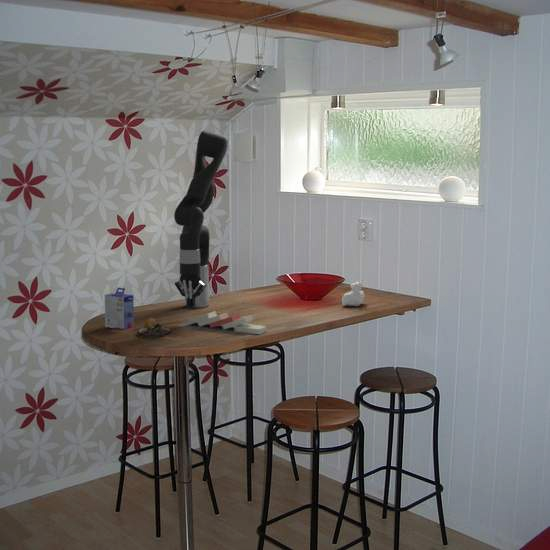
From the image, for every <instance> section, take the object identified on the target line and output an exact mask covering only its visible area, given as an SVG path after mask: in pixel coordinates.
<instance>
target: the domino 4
mask: <svg viewBox="0 0 550 550" xmlns="http://www.w3.org/2000/svg"><path fill="white" fill-rule="evenodd" d="M235 331H236V332H244V333H248V334H254V335H262V334H263V333H266V332H267V326H266V325H257V324H251V323H244V324H240V325H237V326H235Z"/></svg>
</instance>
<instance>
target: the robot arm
mask: <svg viewBox="0 0 550 550" xmlns="http://www.w3.org/2000/svg"><path fill="white" fill-rule="evenodd" d="M228 145H229V139H228V137H227V136H225V135H222V134H219V133H216V132H211V131H208V130H202V131H201V132H200V133H199V136H198V138H197V143H196V152H195V161H194V162H195V163H194V171H193V175H192V179H191V181H190V183H189V186H188V189H187V191H186V194H185V196H184V197H183V198H182V199H181V201H180V202H179V204H177V207H176V208H175V210H174V214H173V218H174V221H175V224H177V225H178V226H182V230H181V234H180V235H179V255H178V256H179V274H180V276H179V280H178V281H176V282H174V285H175V287H176V289H177V290H178V291H179V293H180V295H181V296H182V297H184V307H187V309H190V310H191V309H197V308H198V309H199V308H206V307H209V306H210V284H209V283H210V278H209V277H210V275H209V274H210V273H209V270H210V269H209V260H210V259H209V258H210V231H209V228H208V226H206V225H203V223H204V219H205V216H204V214H205V212H207V210H208V209H209V207H210V206H211V205H212V203H213V199H214V194H215V189H216V187H215V181H214V178H215V176H216V175H217V172H218V170H219V169H220V167H221V164H222V162H223V160H224V157H225V155H226V153H227V150H228ZM206 158H210V159H212V161H211V162H210V163H209V164H208V165H207V159H206Z"/></svg>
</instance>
